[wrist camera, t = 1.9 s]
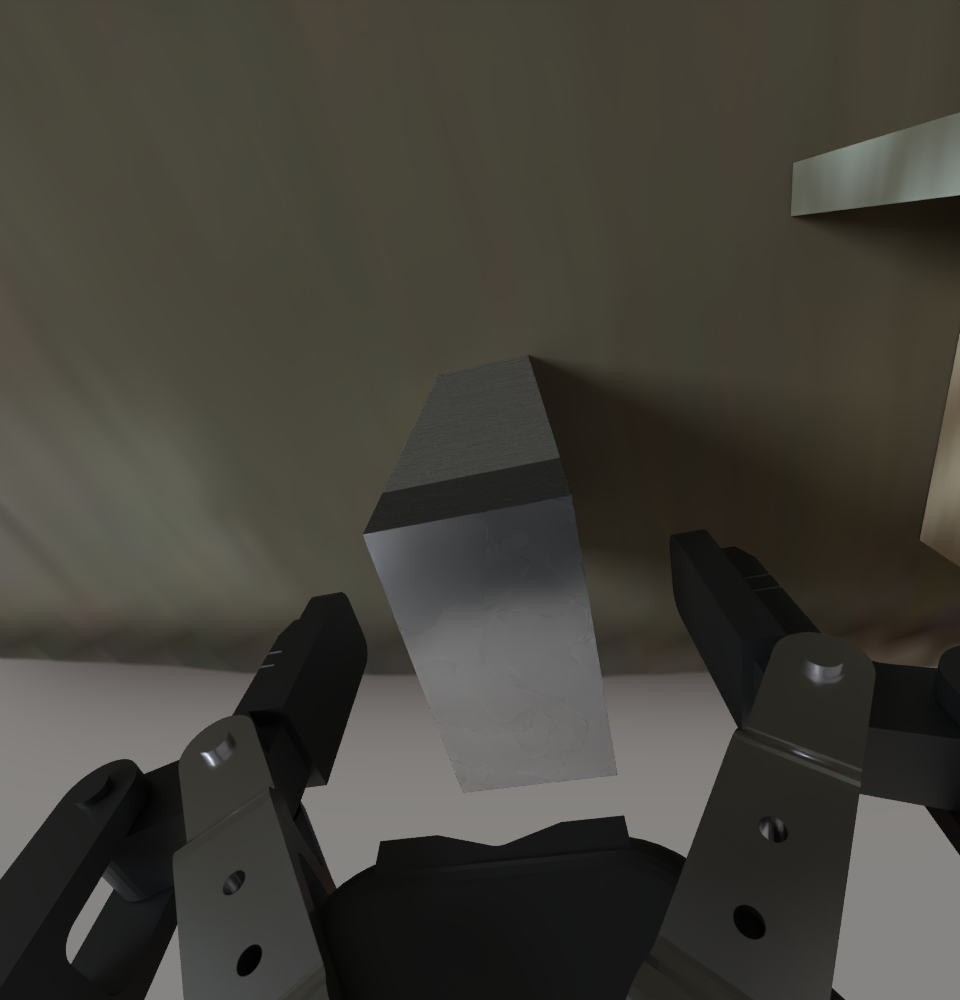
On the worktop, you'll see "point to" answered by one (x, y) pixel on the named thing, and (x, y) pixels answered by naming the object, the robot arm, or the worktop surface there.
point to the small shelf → (886, 180)
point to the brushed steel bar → (494, 584)
